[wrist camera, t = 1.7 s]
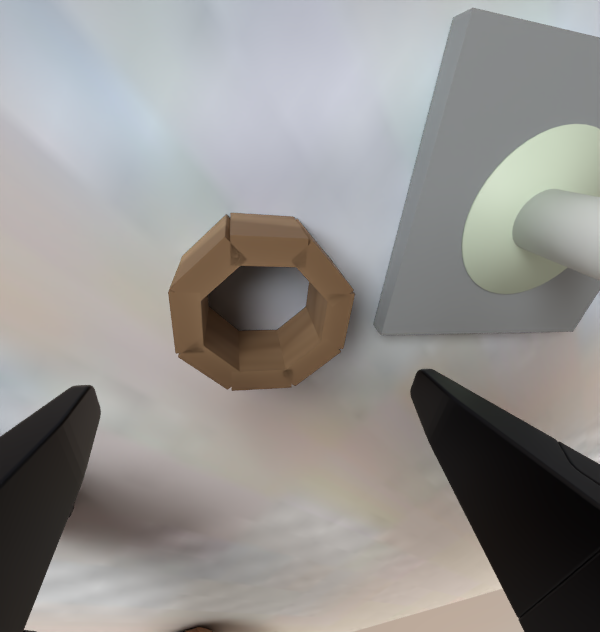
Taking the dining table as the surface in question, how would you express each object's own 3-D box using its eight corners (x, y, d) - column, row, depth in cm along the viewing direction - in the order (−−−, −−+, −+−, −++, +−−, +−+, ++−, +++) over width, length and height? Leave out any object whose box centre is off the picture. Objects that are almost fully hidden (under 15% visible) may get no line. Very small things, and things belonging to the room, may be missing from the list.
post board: (557, 322, 19) (706, 411, 13) (373, 324, 16) (453, 436, 10) (707, 74, 13) (1114, 28, 7) (453, 17, 10) (749, -131, 4)
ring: (319, 345, 16) (335, 385, 14) (189, 348, 15) (180, 393, 12) (340, 219, 13) (365, 241, 11) (176, 209, 12) (160, 231, 9)
